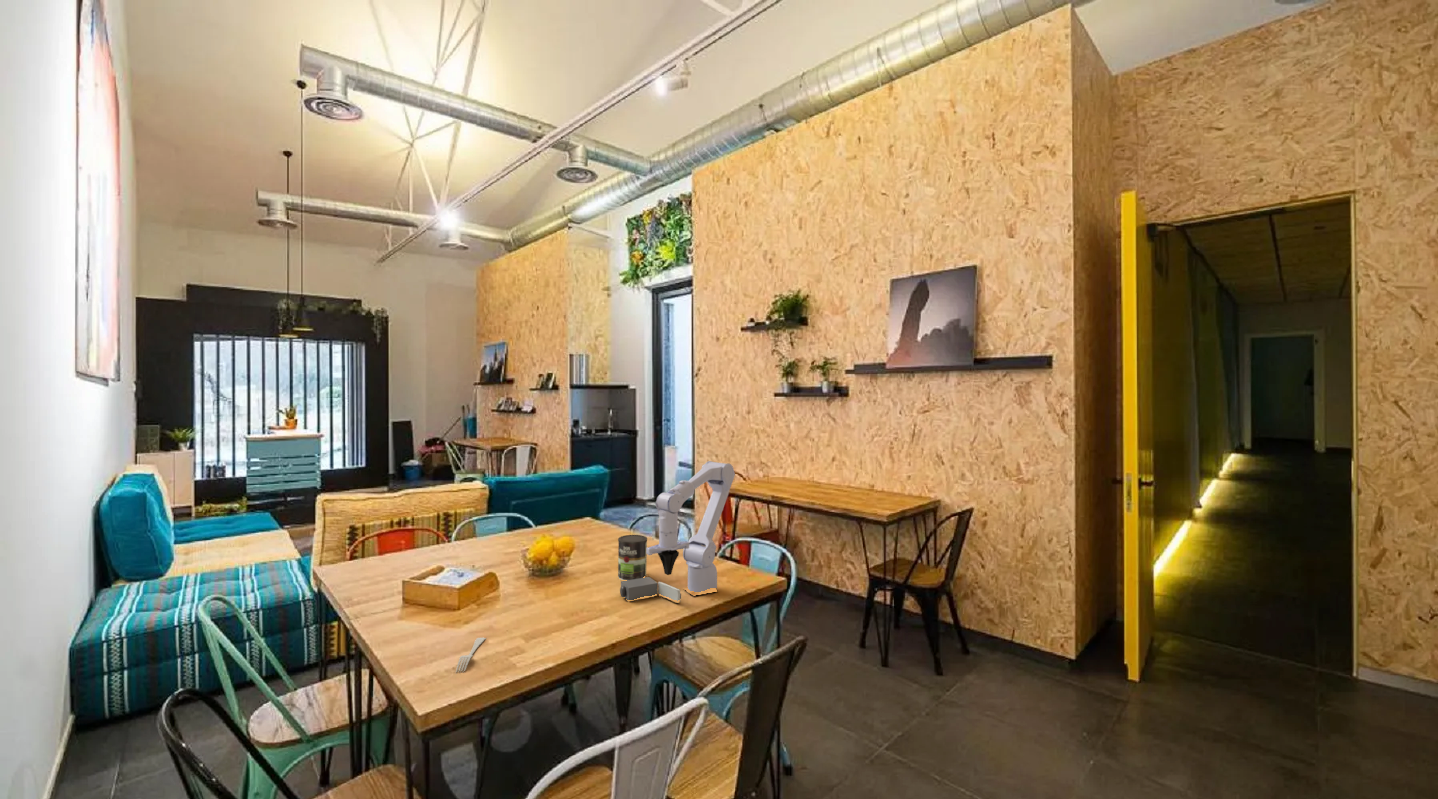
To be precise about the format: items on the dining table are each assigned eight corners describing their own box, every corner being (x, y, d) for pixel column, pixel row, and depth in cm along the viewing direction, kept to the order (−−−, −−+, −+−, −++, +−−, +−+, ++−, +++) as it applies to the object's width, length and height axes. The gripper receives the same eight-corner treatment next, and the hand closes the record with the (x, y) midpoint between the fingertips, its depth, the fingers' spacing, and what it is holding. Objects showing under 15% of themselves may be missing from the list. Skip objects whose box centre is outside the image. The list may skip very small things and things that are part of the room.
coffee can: (639, 583, 205) (639, 543, 205) (612, 580, 208) (613, 540, 208) (651, 574, 215) (651, 535, 215) (625, 571, 218) (626, 533, 218)
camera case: (649, 590, 199) (649, 576, 199) (657, 596, 193) (657, 583, 193) (617, 595, 193) (617, 581, 193) (625, 602, 187) (625, 588, 187)
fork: (487, 646, 161) (487, 636, 161) (465, 675, 140) (465, 663, 141) (476, 647, 161) (477, 636, 161) (452, 676, 140) (453, 664, 140)
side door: (657, 595, 193) (657, 582, 193) (661, 594, 194) (661, 581, 194) (677, 604, 186) (677, 590, 186) (681, 603, 187) (681, 589, 187)
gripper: (654, 537, 179) (653, 581, 179) (694, 530, 187) (694, 573, 188) (643, 532, 185) (642, 575, 185) (682, 526, 193) (682, 567, 193)
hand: (667, 573), depth 187 cm, fingers closed
